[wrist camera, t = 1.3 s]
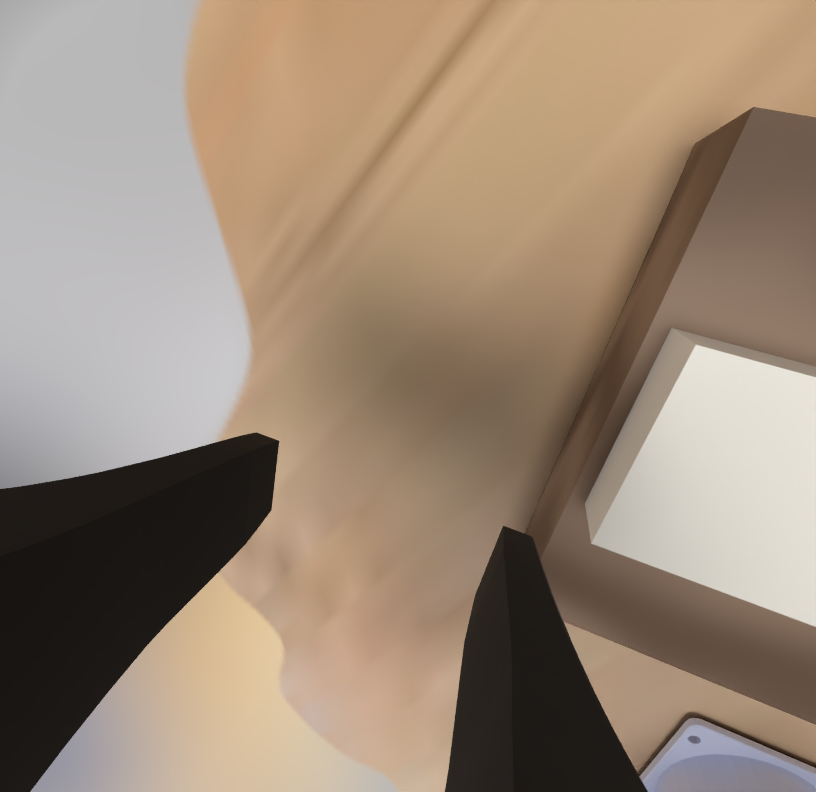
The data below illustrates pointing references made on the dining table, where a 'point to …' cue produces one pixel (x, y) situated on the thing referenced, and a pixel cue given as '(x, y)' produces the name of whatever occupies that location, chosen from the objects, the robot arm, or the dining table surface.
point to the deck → (628, 370)
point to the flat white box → (718, 474)
